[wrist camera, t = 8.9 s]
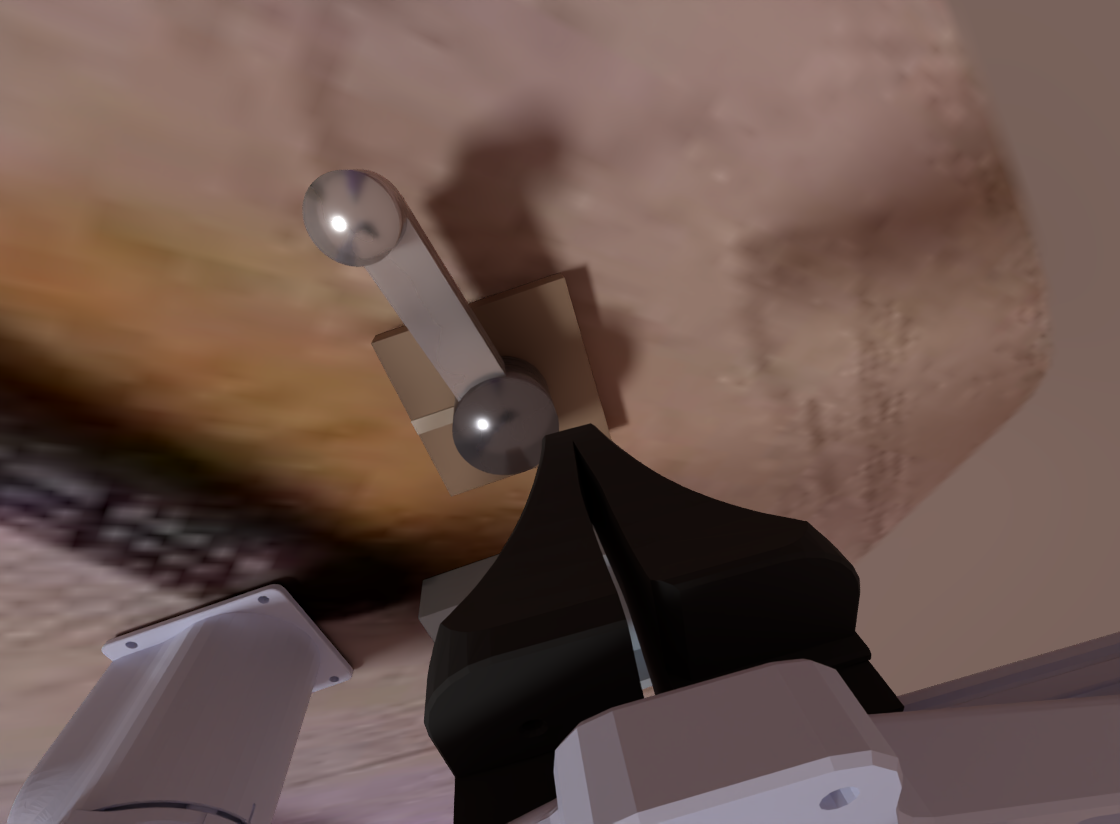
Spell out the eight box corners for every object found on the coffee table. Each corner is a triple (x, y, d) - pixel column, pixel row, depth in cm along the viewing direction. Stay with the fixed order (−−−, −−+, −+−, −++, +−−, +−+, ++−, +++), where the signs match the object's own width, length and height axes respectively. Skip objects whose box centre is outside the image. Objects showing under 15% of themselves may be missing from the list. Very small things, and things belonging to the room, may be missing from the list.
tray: (497, 698, 32) (498, 738, 29) (423, 580, 26) (418, 618, 24) (664, 640, 32) (679, 676, 29) (626, 510, 26) (640, 542, 24)
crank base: (451, 484, 24) (450, 497, 23) (375, 335, 20) (370, 344, 19) (607, 431, 24) (612, 442, 23) (560, 272, 20) (564, 278, 19)
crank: (564, 414, 21) (584, 466, 18) (486, 455, 22) (488, 514, 18) (408, 142, 16) (388, 135, 12) (305, 203, 16) (255, 214, 12)
